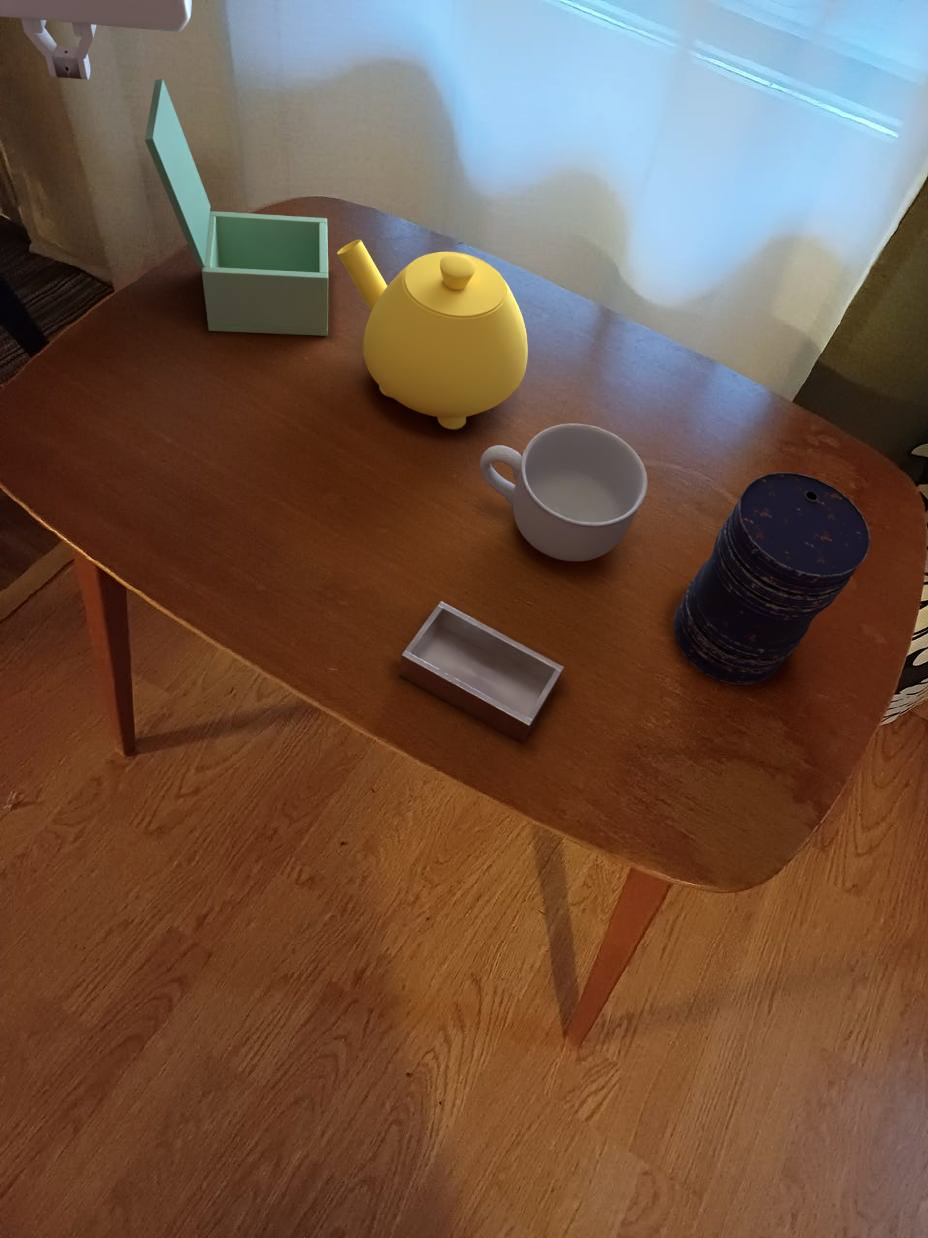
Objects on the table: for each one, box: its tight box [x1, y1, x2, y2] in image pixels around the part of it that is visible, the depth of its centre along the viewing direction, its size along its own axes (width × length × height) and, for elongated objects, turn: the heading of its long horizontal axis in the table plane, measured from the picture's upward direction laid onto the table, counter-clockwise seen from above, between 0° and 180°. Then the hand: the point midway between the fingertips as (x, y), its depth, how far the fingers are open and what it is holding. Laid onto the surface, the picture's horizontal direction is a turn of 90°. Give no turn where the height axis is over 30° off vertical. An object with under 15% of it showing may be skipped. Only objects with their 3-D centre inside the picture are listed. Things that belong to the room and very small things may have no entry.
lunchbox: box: [201, 210, 329, 337], centre depth 92 cm, size 12×10×7 cm
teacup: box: [478, 423, 649, 562], centre depth 80 cm, size 14×11×8 cm
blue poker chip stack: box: [673, 471, 871, 686], centre depth 72 cm, size 10×10×15 cm
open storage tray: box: [398, 601, 565, 744], centre depth 72 cm, size 11×6×3 cm, turn 61°
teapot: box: [336, 238, 529, 430], centre depth 86 cm, size 20×16×14 cm
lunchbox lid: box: [144, 78, 211, 269], centre depth 83 cm, size 12×10×1 cm
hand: (71, 74), depth 75 cm, fingers closed
